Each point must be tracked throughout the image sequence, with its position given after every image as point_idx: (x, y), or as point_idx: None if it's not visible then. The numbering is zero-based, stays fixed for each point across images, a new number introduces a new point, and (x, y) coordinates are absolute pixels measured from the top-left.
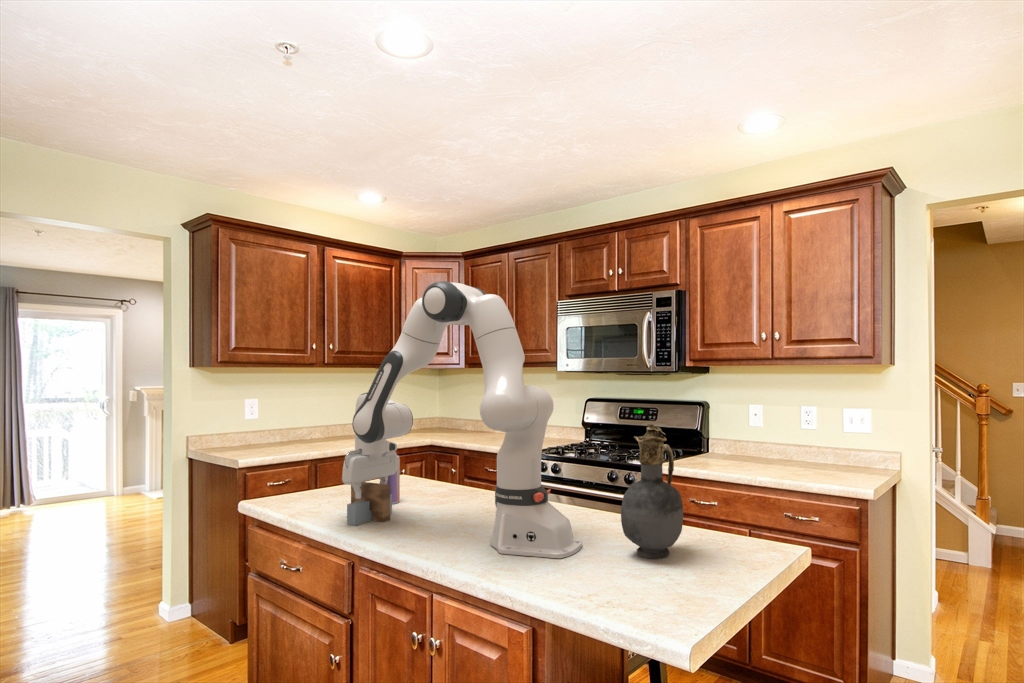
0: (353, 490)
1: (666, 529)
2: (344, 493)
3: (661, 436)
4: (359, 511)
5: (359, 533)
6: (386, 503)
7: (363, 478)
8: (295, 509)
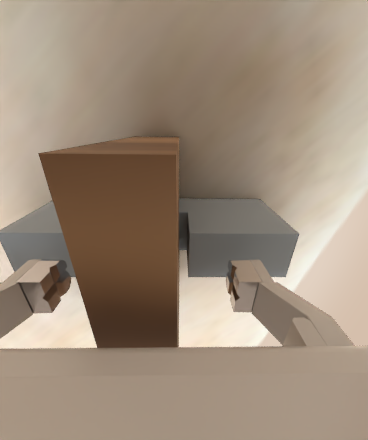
0: None
1: None
2: None
3: None
4: (254, 217)
5: (355, 110)
6: (147, 140)
7: (355, 393)
8: None
